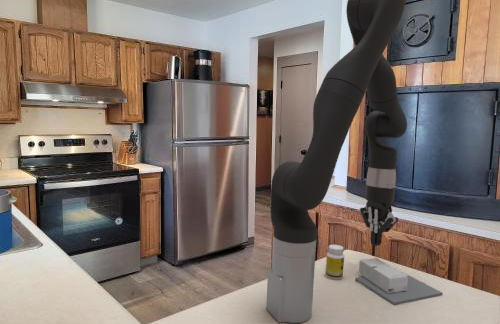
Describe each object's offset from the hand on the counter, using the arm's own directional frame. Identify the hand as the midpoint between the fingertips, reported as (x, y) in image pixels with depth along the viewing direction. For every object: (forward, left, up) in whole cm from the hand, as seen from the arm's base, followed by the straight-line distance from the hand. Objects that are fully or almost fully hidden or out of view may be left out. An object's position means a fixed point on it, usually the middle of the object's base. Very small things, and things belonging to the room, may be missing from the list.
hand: (375, 244), depth 102 cm
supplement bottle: (-12, +2, -9) cm, 15 cm away
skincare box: (-2, 0, -6) cm, 6 cm away
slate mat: (0, -9, -8) cm, 12 cm away
